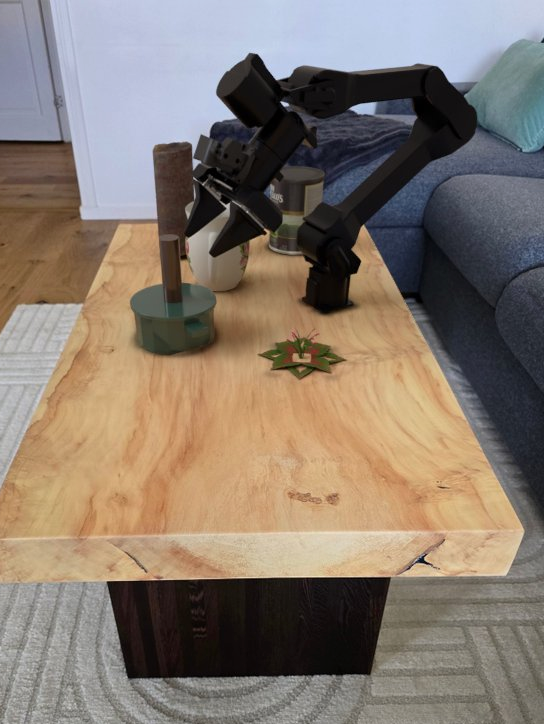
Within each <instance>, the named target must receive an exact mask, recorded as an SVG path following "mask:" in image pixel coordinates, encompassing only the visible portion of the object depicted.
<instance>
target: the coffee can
mask: <svg viewBox="0 0 544 724" xmlns="http://www.w3.org/2000/svg"><path fill="white" fill-rule="evenodd" d="M280 172H281V173H282V175H283V176H284V177H283V179H282V180H281V181H280V182H277V181H275V180H273V182H272V183H271V184H270V190H269V191H270V193H269V194H270V196H269V199H270V200H271V201H272V202H273V203H274V204H275V205H276V206H277V207H278V208H279V209H280V210H281V211H282V212H283V223H282V224H281V225H280V227H279V228H278V229H277V231H276V232H275V233H274V234H273V233H271V232H270V231H269V237H268V247H269V250H271V251H273V252H275V253H278V254H283V255H289V256H303V253H302V252H301V251H300V250H299V249H298V246H297V241H296V239H297V231H298V229H299V227H300V226H301V225H302V223H303V222H305V221H304V220H303V217H306V216H308V215H309V214H310V213H312V212H313V210H314V209H315V208H316V207H317V205H318V204H320V203H321V202H323V194H324V193H323V192H324V180H325V174H326V173H325V171H324V170H322V169H319V168H316V167H312V166H304V165H303V166H302V165H290V166H289V165H288V166H284V167H283V169H282V170H281V171H280Z"/></svg>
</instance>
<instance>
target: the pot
mask: <svg viewBox="0 0 544 724" xmlns="http://www.w3.org/2000/svg"><path fill="white" fill-rule="evenodd" d="M133 315H134V323H135V324H134V325H135V334H136V340H137V343H138V345H139V346H140V347H141V348H142V349H144V350H145V351H148V352H150V353H152V354H157V355H162V356H173V355H176V354H180V353H183V352H188V351H193V350H197V349H200V348H202V347H205V346H209V345H211V344H212V343H213V342H214V339H215V308H214V309H213V310H212V311H210V312H209V313H207V314H205V315H203V316H201V317H198V318H194V319H190V320H185V321H174V322H164V321H154V320H149V319H146V318H143V317H140V316H138V315H137V314H135V313H134V312H133Z"/></svg>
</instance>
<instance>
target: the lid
mask: <svg viewBox="0 0 544 724" xmlns="http://www.w3.org/2000/svg"><path fill="white" fill-rule="evenodd" d="M158 249H159V261H160V271H161V283H159V284H154V285H150V286H147V287H145V288H142V289H140V290H138V291H136V292H135V293H134V294H133V295H132V296H131V298H130V300H129V307H130V310H131V311H132V312H133V314H134V313H135V314H137V315H138V316H140V317H143V318H146V319H149V320H154V321H164V322H174V321H185V320H190V319H194V318H198V317H201V316H203V315H205V314H207V313H209V312H210V311H212V310H213V309H214V310H215V308H216V306H217V299H218V298H217V295H216V294H215V292H214V291H211V290H210V289H208V288H206V287H203V286H200V284H196V283H188V282H183V279H182V278H183V277H182V264H181V262H182V261H181V256H180V246H179V236H177V235H173V234H167V235H162V236H160V237H159V236H158Z"/></svg>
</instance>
